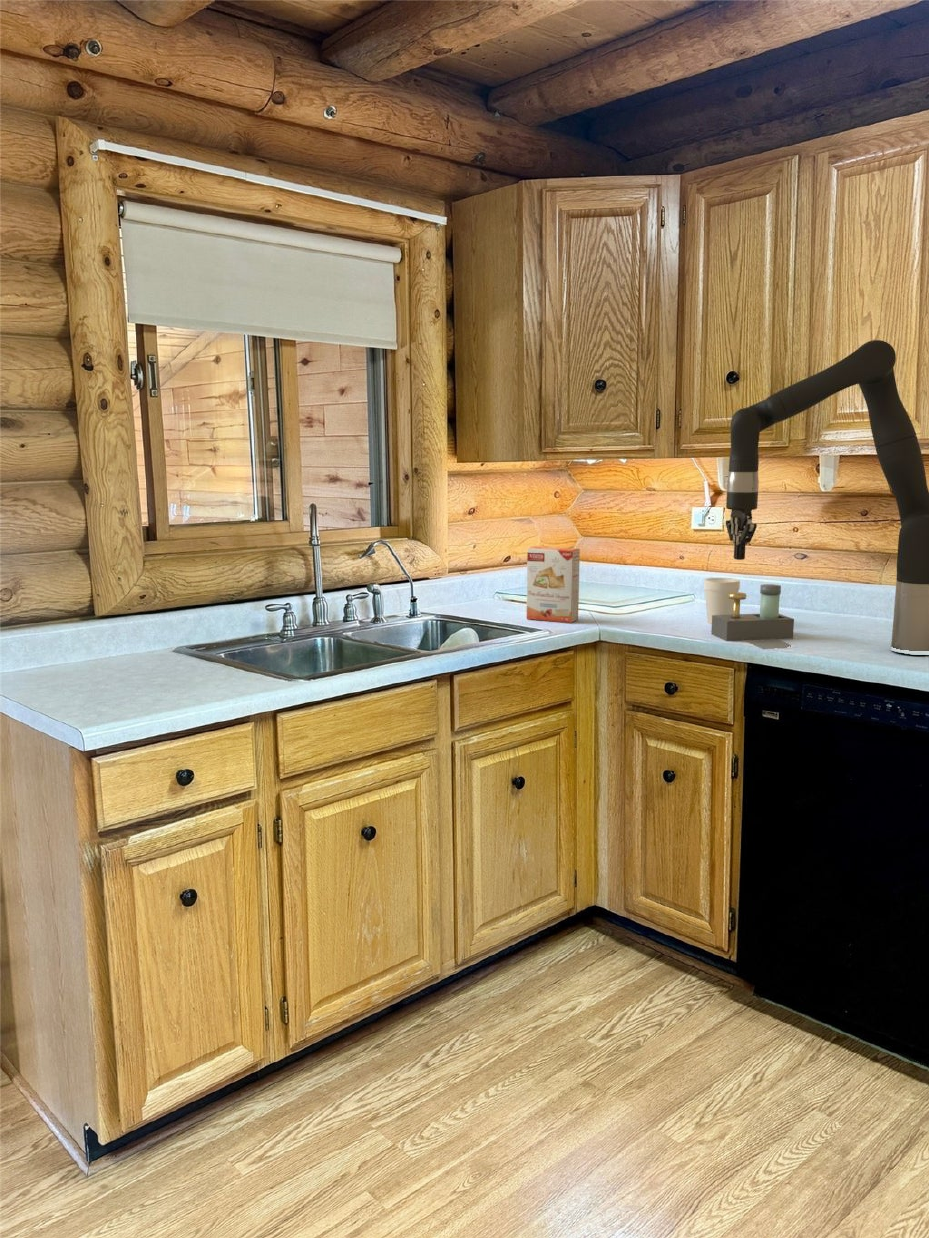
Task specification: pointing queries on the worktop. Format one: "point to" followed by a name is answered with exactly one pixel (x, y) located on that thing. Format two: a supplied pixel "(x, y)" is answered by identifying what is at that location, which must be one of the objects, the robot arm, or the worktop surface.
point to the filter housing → (751, 627)
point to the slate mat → (770, 644)
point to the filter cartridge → (769, 601)
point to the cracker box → (553, 584)
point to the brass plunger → (736, 602)
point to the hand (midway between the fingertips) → (739, 559)
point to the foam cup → (719, 596)
